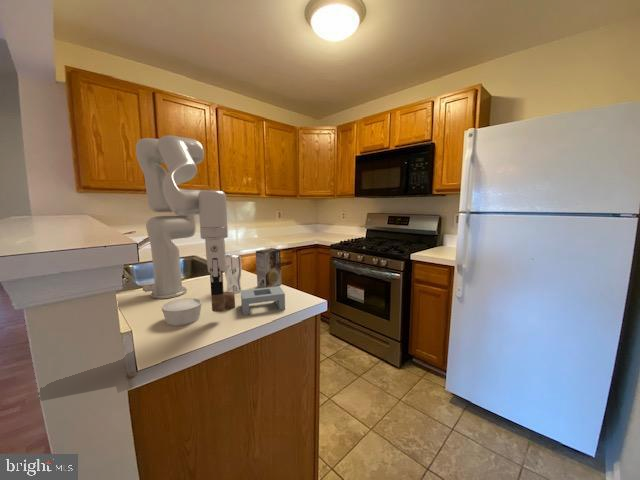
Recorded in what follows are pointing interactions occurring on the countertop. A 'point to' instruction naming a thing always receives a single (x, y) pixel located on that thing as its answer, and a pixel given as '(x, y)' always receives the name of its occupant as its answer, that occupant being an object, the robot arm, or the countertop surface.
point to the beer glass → (233, 273)
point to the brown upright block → (229, 300)
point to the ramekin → (182, 311)
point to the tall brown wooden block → (218, 298)
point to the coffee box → (268, 268)
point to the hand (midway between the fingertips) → (217, 291)
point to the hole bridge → (262, 297)
